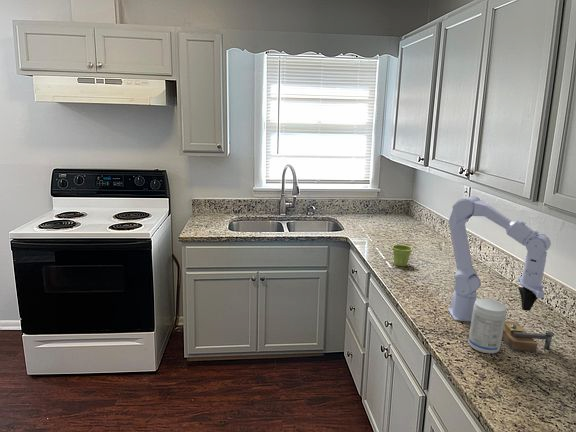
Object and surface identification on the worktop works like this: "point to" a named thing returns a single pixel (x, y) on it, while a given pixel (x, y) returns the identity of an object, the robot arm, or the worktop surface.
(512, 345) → the body
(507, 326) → the yellow rectangular block
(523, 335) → the lever
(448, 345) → the worktop surface
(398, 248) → the plant pot
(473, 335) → the supplement tub
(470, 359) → the worktop surface
